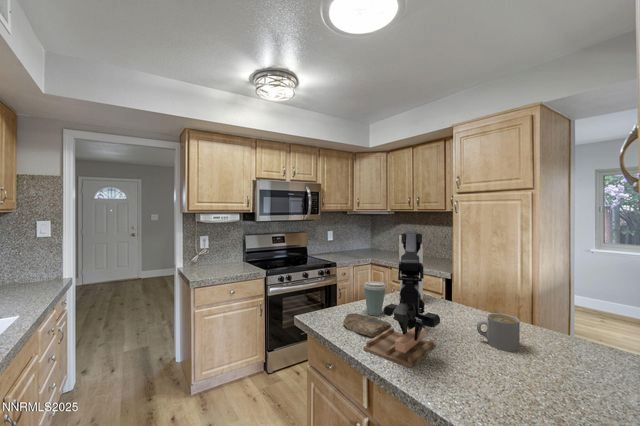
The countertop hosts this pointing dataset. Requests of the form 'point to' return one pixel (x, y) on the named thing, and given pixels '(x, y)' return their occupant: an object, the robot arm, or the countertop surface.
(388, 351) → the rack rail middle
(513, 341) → the coffee mug
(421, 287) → the white tall box
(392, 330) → the rack rail
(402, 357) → the rack
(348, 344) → the countertop surface
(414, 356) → the rack rail
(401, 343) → the clay strip
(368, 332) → the brown rock
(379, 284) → the disposable coffee cup
